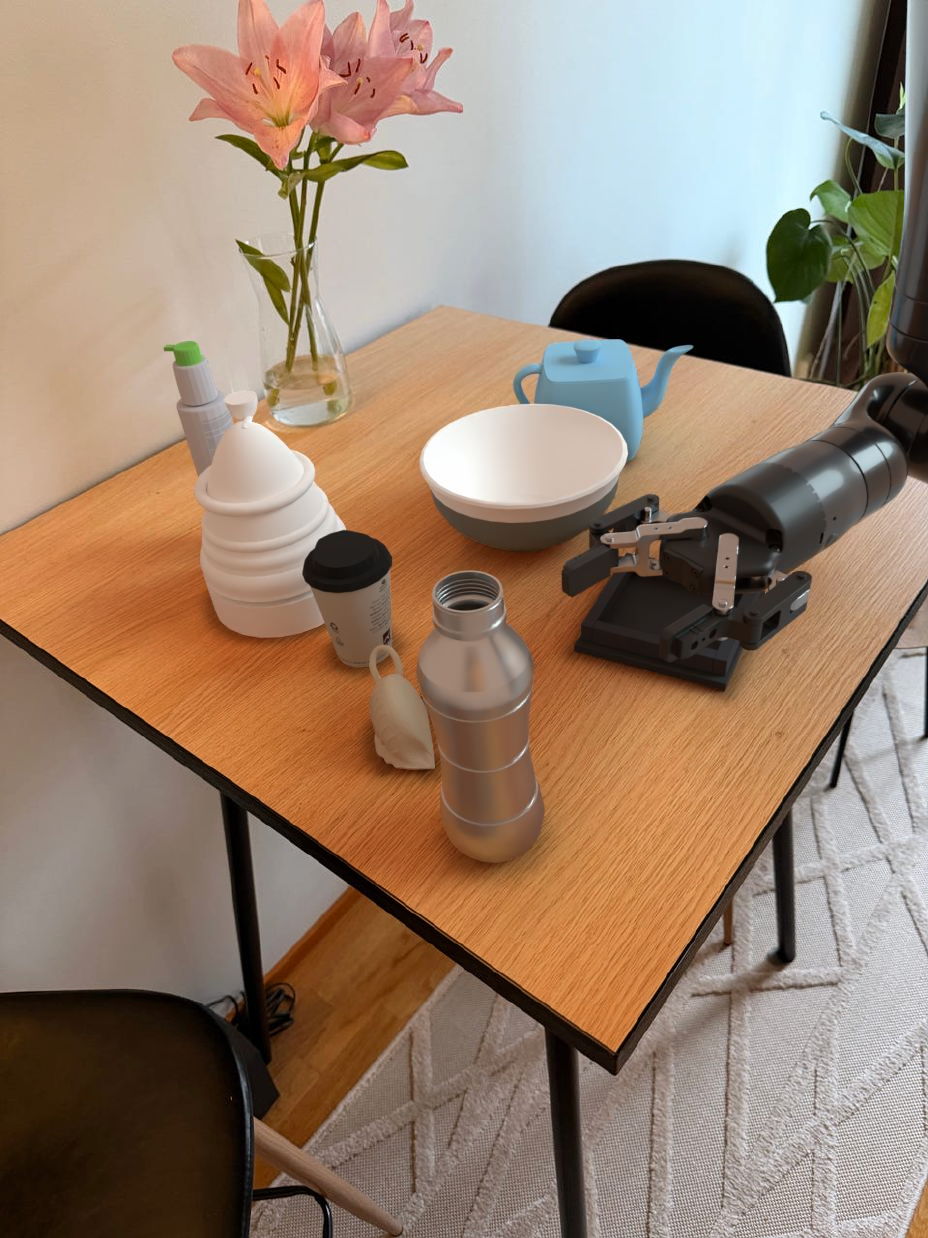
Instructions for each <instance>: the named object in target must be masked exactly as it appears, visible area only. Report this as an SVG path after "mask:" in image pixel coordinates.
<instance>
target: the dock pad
mask: <svg viewBox="0 0 928 1238" xmlns="http://www.w3.org/2000/svg"><path fill="white" fill-rule="evenodd" d="M633 554H634V553H631V552H626V553H624V555H623V556H631V555H633ZM649 559H656V557H650V556H649ZM765 593H766V590H764V591H761V592H753V593H741V594H734V605H733V607H736V608H740V609H743V610H745V609H746V608H747V607H748V606H750V605H751V604H752V603H754V602H755V601H756V600H757V599H759V598H760V597H761V596H763V595H764V594H765ZM712 601H713V596H708V595H703V594H701V595H700V596H697V595H695V594H693V593H692V592H690V591H689V590H688V589H687V588H685V587H684V586H683V585H682V584H680V583H677V582H674V581H671V580H669V579H668V578H666V577H664V576H662V575H659V576H645V577H642V576H639V575H638V574H637V573H636V572H634V571H632V572H618V573H611V575H610V578H609V579H608V581H607V582H606V584H605V585H604V587H603V589H602V590H601V592H600V593H599V595H598V596H597V598H596V600H595V602H593V604H592V606H591V608H590V609H589V611H588V612H587V614H586V616H585V617H584V619H583V620H582V621H581V624H580V633H579V635H578V637H577V639H576V641H575V642H574V644H573V650H574V653H578V654H581V655H585V656H589V657H593V658H596V659H600V660H604V661H608V662H612V663H616V664H620V665H623V666H627V667H631V668H634V669H639V670H642V671H646V672H648V673H649V672H650V673H654V674H658V675H661V676H665V677H667V678H672V679H677V680H681V681H684V682H686V683H687V682H688V683H692V684H695V685H699V686H703V687H707V688H710V689H714V690H718V691H722V692H726V691H727V688H728V686H729V683H730V681H731V679H732V675H733V674H734V671H735V668H736V666H737V664H738V661H739V659H740V657H741V655H742V652H743V650H744V649H743V648H742V647H741V646H740V644H739V641H738V640H735V639H732V638H728V639H726V640H722V641H718V640H715V641H713V642H712V643H710V644H709V645H707V646H706V647H704V648H703V649H701V650H700V651H698V652H697V653H695V654H694V655H692V656H691V657H689V658H686V659H682V660H680V659H679V658H677V659H676V660H674V661H673V662H667V661H666V660H664V659H663V658H661V657H660V656H659V642H660V635H661V633H662V631H663V630H664V629H665V628H666V627H668V626H670V625H671V624H673V623H674V622H676V621H677V620H679V619H681V618H682V617H684V616H685V615H687V614H688V613H690V612H692V611H693V610H695V609H696V608H698V607H699V606H701V605H703V604H705V605H706V606H708V607H712Z"/></svg>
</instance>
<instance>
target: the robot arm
mask: <svg viewBox="0 0 928 1238" xmlns="http://www.w3.org/2000/svg"><path fill="white" fill-rule="evenodd" d="M906 4H907V5H906V8H907V9H906V10H907V11H906V43H905V45H906V46H905V52H906V54H905V80H904V83H905V85H904V197H903V199H904V200H903V202H904V203H903V204H904V205H903V206H904V207H903V218H902V219H903V220H902V231H901V239H900V247H899V254H898V260H897V264H896V271H895V276H894V283H893V288H892V295H891V296H892V297H891V300H890V307H889V312H888V317H887V318H888V319H887V325H886V332H885V346H886V350H887V353H888V355H889V356H890V358H891V359H892V360H893V361H894V362H895V363H896V364H897V365H899V366H900V367H901V368H903V369H904V370H906V371H907V372H903V371H892V372H887V373H886V372H885V373H882V374H879V375H877V376H875V377H872V378H871V379H869V380H868V381H866V383H865V384H863V386H862V387H861V388H860V389H859V390H858V392H857V393H856V395H855V396H854V397H853V399H852V400H851V401H850V402H849V404H848V405H847V406H846V407H845V409H844V410H843V411H842V412H841V413H840V414H839V415H838V416H837V417H836V419H834V421H833V422H832V423H831V424H830V425H829V427H827V428H826V429H824V430H822V431H820V432H819V433H817V434H815V435H813V436H811V437H810V438H808V439H806V440H804V441H803V442H801V443H798V444H797V445H794V446H791V447H788V448H785V449H783V450H780V451H778V452H775V453H774V454H772V455H769V457H767V458H765V459H763V460H761V461H760V462H758V463H755V464H754V465H752V466H750V467H749V468H747V469H745V470H742V471H741V472H740V473H738V474H736V475H734V476H733V477H731V478H729V479H727V480H726V481H724V482H722V483H720V484H718V485H716V486H715V487H712V488H711V490H709V491H708V492H707V493H706V494H705V495H704V496H703V497H702V499H701V500H700V501H699V502H698V503H697V505H696V506H695V507H694V508H693V509H691V510H687V511H683V512H678V513H674V514H670V513H669V512H667V511H665V510H664V509H663V508H660V496H659V495H657V494H654V493H648V494H644V495H641V496H640V497H638V498H636V499H634V500H631V501H630V502H627V503H626V504H622V505H621V506H619V507H617V508H615V509H613V510H611V511H608V512H605V513H604V514H603V515H602V516H600V517H598V518H596V519H594V520H592V521H590V523H589V529H588V538H589V539H588V549H587V550H584V551H582V552H581V553H579V554H578V555H576V556H573V557H572V558H570V559H568V560H567V561H565V563H564V564H563V565H562V570H561V573H560V574H561V576H560V577H561V591H562V593H564V594H565V595H566V596H568V597H570V598H575V597H576V596H578V595H580V594H582V593H584V592H585V591H587V590H589V589H590V588H592V587H593V586H595V585H597V584H599V583H600V582H602V581H604V580H605V579H607V578H609V577H611V574H613V573H618V572H632V571H634V572H636V573H637V574H638V575H639V576H642V577H645V576H659V575H662V576H664V577H666V578H668V579H669V580H671V581H674V582H677V583H680V584H682V585H683V586H684V587H685V588H687V589H688V590H689V591H690V592H692V593H693V594H695V595H697V596H700V595H701V594H703V595H708V596H713V601H712V607H708V606H706V605H705V604H703V605H701V606H699V607H698V608H696V609H695V610H693V611H692V612H690V613H688V614H687V615H685V616H684V617H682V618H681V619H679V620H677V621H676V622H674V623H673V624H671V625H670V626H668V627H666V628H665V629H664V630H663V631H662V633H661V635H660V642H659V656H660V657H661V658H663V659H664V660H666V661H667V662H673V661H674V660H676V659H677V658H679V659H680V660H682V659H686V658H689V657H691V656H692V655H694V654H695V653H697V652H698V651H700V650H701V649H703V648H704V647H706V646H707V645H709V644H710V643H712V642H713V641H715V640H718V641H722V640H726V639H728V638H732V639H735V640H738V641H739V644H740V646H741V647H742V648H743V650H746V651H756V650H758V649H759V648H761V647H762V646H763V645H765V644H766V643H767V642H768V641H769V640H771V639H772V638H773V637H775V636H777V634H778V633H780V632H781V631H783V629H784V628H786V627H787V626H788V625H790V624H791V623H792V622H793V621H794V620H796V619H797V618H798V617H800V616H801V615H802V614H804V612H806V610H807V606H808V603H809V602H808V601H809V597H810V593H811V588H812V587H811V586H812V582H813V575H812V574H811V573H810V572H808V571H805V570H796V569H797V568H799V567H801V566H802V565H804V564H805V563H806V562H807V563H808V562H809V561H810V560H812V559H813V558H814V557H816V556H818V555H819V554H820V553H822V552H824V551H825V550H827V549H828V548H830V547H831V546H833V545H834V544H835V543H837V542H838V541H839V540H841V539H842V538H843V537H844V536H845V535H846V534H847V533H848V532H849V531H850V530H851V529H852V528H854V527H855V526H857V525H858V524H860V523H862V522H864V520H867V518H870V517H871V516H873V514H875V513H877V512H878V511H880V510H881V509H883V508H884V507H886V506H887V505H888V504H890V503H891V502H892V501H894V499H895V498H897V496H898V495H899V494H900V493H901V492H902V490H903V489H904V487H905V485H906V482H907V479H908V477H909V478H912V479H914V480H916V481H918V482H921V483H923V484H926V485H928V0H907V3H906ZM611 530H612V532H610V531H611ZM656 541H660V544H659V549H658V558H655V559H649V557H650V547H651V544H652V543H653V542H656ZM620 549H622V550H623V549H635V550H634V553H632V554H633V555H631V556H624V555H621V556H620ZM794 570H795V571H794ZM766 590H767V591H766ZM761 591H766V592H765V594H764V595H763V596H761V597H760V598H759V599H757V600H756V601H755V602H754V603H752V604H751V605H750V606H748V607H747V608H746V609H745V610H743V609H740V608H736V607H733V605H734V594H741V593H753V592H761Z"/></svg>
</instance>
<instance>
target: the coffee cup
mask: <svg viewBox="0 0 928 1238" xmlns="http://www.w3.org/2000/svg"><path fill="white" fill-rule="evenodd" d="M392 566H393V555H392V554H391V552H390V550H389V548H388V547H387V546H386V545H385V543H383V542H382V541H381V540H379V539H377V538H374V537H371V536H370V535H368V534H366V533H363V532H359V531H354V530H349V529H346V530H341V531H338V532H334V533H330V534H328V535H326V536H324V537H322V538H320V539H319V540H318V541H317V543H316V546H315V548H314V549H313V550H312V551H310V553H309V554H308V556H307V557H306V559H305V561H304V565H303V571H302V575H303V577H304V580H305V582H306V583H307V584H309V585H310V588H311V590H312V593H313V595H314V597H315V600H316V602H317V605H318V607H319V610H320V612H321V615H322V617H323V620H324V622H325V623H324V625H325V627H326V630H327V632H328V635H329V637H330V640H331V642H332V645H333V647H334V650H335V652H336V654H337V657H338V659H339V661H340V662H342V663H343V664H344V665H346V666H349V667H351V668H368V667H369V659H370V655H371V653H372V651H373V649H374V648H376V647H377V646H379V645H387V646H389V647H391V648H392V649H393V621H392V619H393V618H392V592H391V591H392V590H391V568H392ZM389 656H390V655H389V654H388V653H387V652H380V653H379V654H378V655H377V658H376V665H378V664H379V663H382V662H383V661H385V659H387V657H389Z"/></svg>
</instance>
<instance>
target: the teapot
mask: <svg viewBox="0 0 928 1238" xmlns="http://www.w3.org/2000/svg"><path fill="white" fill-rule="evenodd" d="M693 348H694V345H692V344H686V345H679V346H674V347H672V348H670V349H668V350H666V351H665V352H664V353H663V354H662V355H661V357H660V358H659V361H658V362H657V365H656V369H655V372H654V374H653V377H652V379H651V380H650V381H649V382H648V383H647V384H645V385H643V386H641V384H640V380H639V376H638V371H637V368H636V364H635V361H634V358H633V355H632V354H633V353H632V352H631V349H630V347H629V345H628V344H627V343H626V342H625V341H624V340H622V339H614V338H613V339H593V338H592V339H591V338H586V339H581V340H573V341H564V342H563V341H561V342H560V341H559V342H552V343H549V345H548V346H546V347H545V350H544V352H543V356H542V360H541V363H537V362H535V363H529V364H526V365H525V366H523V367H522V368H520V369H519V370H518V371H517V372H516V374H515V375H514V377H513V381H512V389H513V392H514V395H515V397H516V399H517V402H518V403H519V404H531V402H530V401H529V399H528V398H527V396H526V393H525V392H524V390H523V386H522V381H523V380H524V379H525V378H526V377H528V376H531V375H536V374H537V375H538V376H537V381H536V385H535V389H534V390H535V391H534V398H533V404H550V405H559V406H566V407H572V408H576V409H579V410H583V411H587V412H589V413H592V414H594V415H597V416H599V417H601V418H603V419H604V420H606V421H608V422H609V423H611V424H612V425H613V426H614V427H615V428H616V429H617V430H618V431H619V432H620V433H621V434H622V436H623V438H624V440H625V442H626V444H627V450H628V456H627V459H626V463H627V462H631V461H632V460H633V459H634V458H635V456H636V455H637V453H638V451H639V448H640V445H641V441H642V437H643V432H644V419H646V418H648V417H649V416H652V414H654V413H655V412H656V411H657V410H658V409H659V408H660V406H661V405H662V403H663V401H664V397H665V396H666V392H667V389H668V384H669V381H670V376H671V373H672V370H673V367H674V366H675V364H676V362H677V361H678V360H679V359H680V357H682V356H683V355H685V354H686V353H687V352H689V351H690V350H692V349H693Z"/></svg>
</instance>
